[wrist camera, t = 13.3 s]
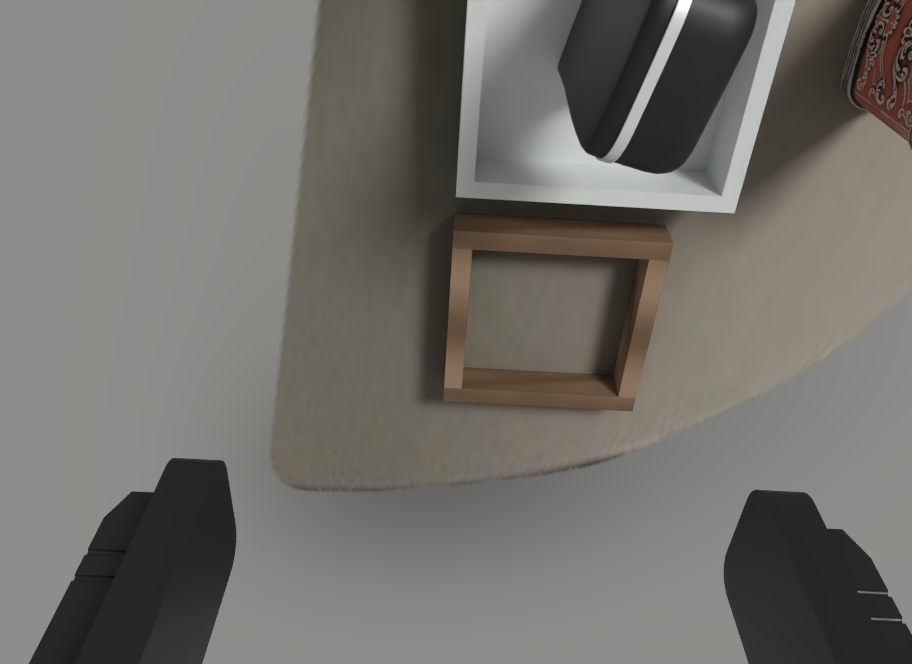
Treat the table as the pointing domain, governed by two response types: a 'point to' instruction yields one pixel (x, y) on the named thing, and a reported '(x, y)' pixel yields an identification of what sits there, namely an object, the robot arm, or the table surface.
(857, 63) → the lighter
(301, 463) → the table surface
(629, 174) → the bin
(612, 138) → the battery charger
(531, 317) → the table surface
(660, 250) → the brown flat square frame
